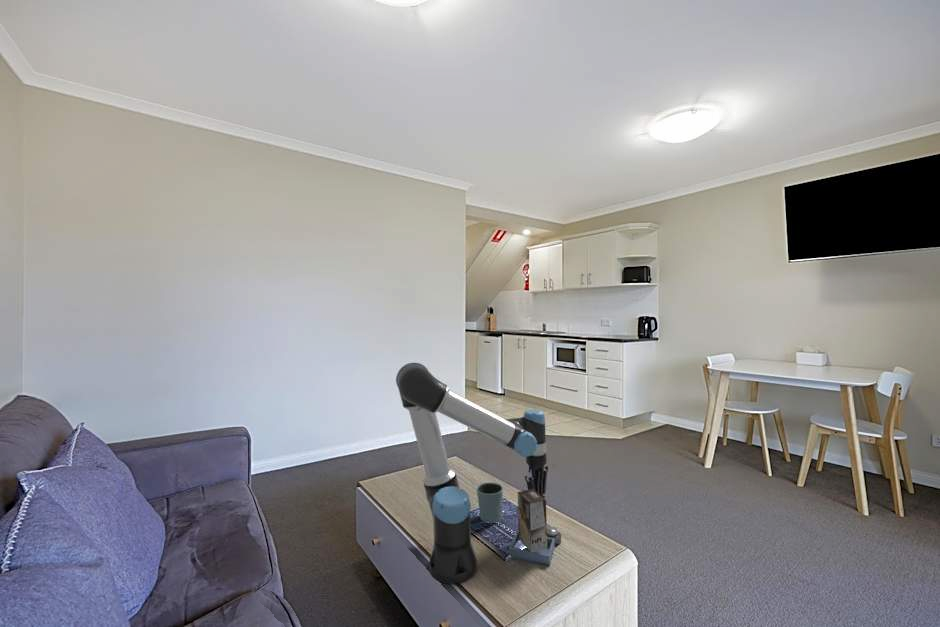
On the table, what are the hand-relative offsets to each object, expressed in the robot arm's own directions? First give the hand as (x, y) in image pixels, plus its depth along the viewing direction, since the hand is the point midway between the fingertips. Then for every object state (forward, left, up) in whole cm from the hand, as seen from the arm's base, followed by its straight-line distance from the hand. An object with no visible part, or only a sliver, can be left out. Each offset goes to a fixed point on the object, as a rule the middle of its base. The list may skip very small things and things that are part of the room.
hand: (538, 515), depth 147 cm
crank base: (-6, -2, -5) cm, 8 cm away
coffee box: (-15, -1, -2) cm, 15 cm away
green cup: (+1, +19, -5) cm, 20 cm away
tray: (-15, -1, -5) cm, 16 cm away
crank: (-4, -2, -3) cm, 5 cm away
